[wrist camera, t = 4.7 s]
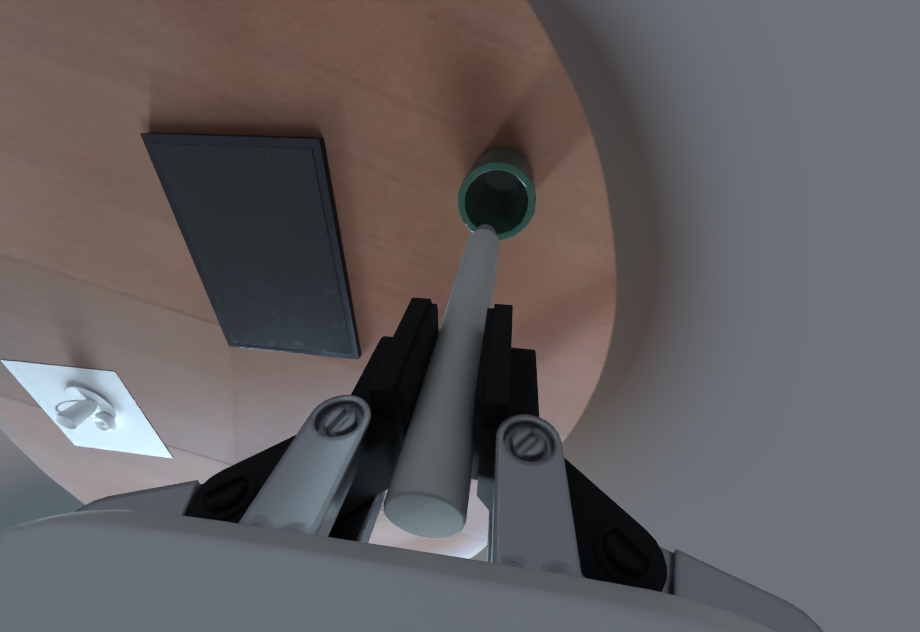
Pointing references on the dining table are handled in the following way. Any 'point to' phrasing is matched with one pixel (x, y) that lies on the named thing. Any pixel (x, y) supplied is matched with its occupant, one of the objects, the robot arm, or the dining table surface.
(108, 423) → the teacup and saucer
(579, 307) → the dining table surface
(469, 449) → the stylus
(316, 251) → the tablet
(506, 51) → the dining table surface
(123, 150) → the dining table surface
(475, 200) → the pen holder
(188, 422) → the dining table surface
